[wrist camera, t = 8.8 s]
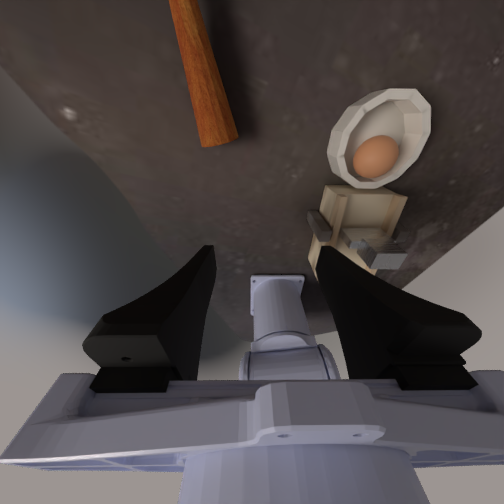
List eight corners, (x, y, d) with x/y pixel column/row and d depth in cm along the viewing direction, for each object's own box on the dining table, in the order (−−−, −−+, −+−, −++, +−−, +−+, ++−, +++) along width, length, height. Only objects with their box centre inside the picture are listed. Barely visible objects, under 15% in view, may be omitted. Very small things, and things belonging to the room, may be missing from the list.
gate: (375, 237, 19) (407, 269, 15) (337, 237, 19) (360, 269, 15) (381, 224, 18) (418, 253, 14) (341, 224, 18) (367, 253, 14)
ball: (376, 158, 19) (384, 186, 17) (343, 158, 19) (349, 185, 17) (403, 125, 15) (415, 156, 14) (362, 125, 15) (371, 156, 14)
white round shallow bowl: (387, 181, 20) (403, 188, 18) (320, 181, 20) (328, 188, 18) (425, 93, 15) (451, 89, 13) (340, 92, 15) (353, 88, 13)
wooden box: (359, 258, 26) (381, 285, 22) (298, 258, 26) (308, 285, 21) (392, 183, 20) (431, 201, 16) (313, 183, 20) (331, 201, 15)
